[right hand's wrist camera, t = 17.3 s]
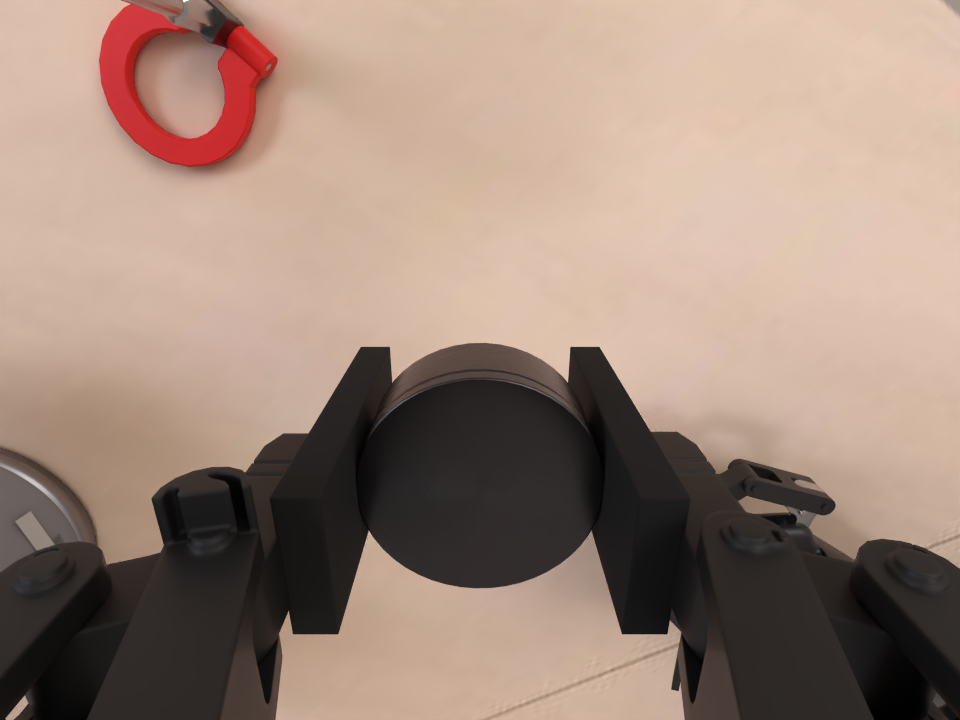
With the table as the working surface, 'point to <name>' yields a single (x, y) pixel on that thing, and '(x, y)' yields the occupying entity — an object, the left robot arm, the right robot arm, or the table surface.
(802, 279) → the table surface
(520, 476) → the lid
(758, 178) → the table surface
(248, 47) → the tow hook
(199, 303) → the table surface
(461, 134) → the table surface
